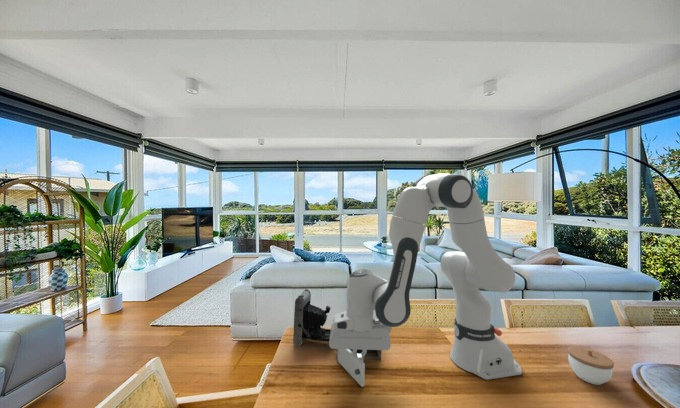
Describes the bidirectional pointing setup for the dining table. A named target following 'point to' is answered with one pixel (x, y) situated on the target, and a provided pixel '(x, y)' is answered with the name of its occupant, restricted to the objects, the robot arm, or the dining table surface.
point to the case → (370, 354)
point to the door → (352, 364)
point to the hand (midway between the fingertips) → (359, 360)
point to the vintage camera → (309, 320)
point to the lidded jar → (590, 365)
